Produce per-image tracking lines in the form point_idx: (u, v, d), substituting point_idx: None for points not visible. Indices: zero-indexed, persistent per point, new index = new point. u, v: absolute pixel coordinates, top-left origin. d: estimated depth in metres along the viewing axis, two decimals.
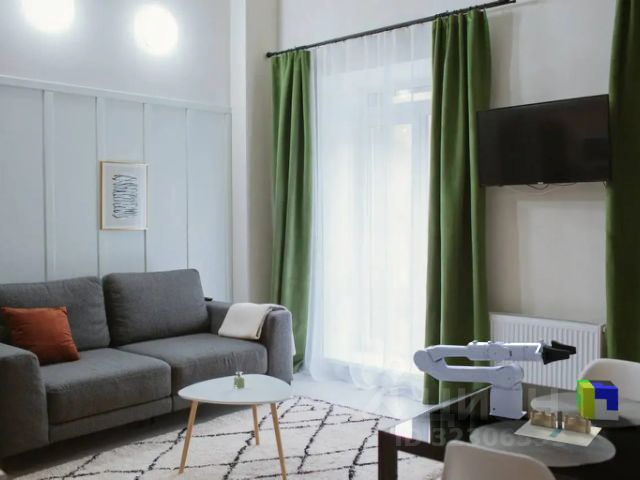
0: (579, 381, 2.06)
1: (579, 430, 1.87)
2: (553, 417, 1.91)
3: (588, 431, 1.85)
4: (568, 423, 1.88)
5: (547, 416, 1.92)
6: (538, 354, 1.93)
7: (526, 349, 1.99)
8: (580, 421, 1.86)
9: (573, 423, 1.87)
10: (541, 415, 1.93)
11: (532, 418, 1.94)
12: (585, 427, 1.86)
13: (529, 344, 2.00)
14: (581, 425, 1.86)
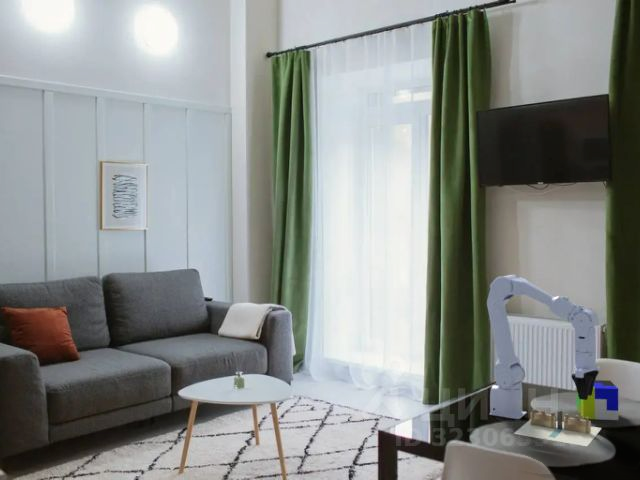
0: None
1: (579, 430, 1.87)
2: (553, 417, 1.91)
3: (588, 431, 1.85)
4: (568, 423, 1.88)
5: (547, 416, 1.92)
6: (581, 375, 1.84)
7: (587, 355, 1.87)
8: (580, 421, 1.86)
9: (573, 423, 1.87)
10: (541, 415, 1.93)
11: (532, 418, 1.94)
12: (585, 427, 1.86)
13: (593, 357, 1.88)
14: (581, 425, 1.86)
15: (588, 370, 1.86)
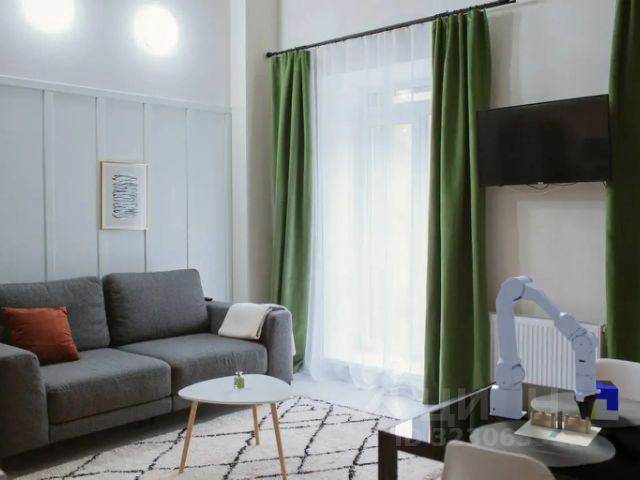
0: None
1: (579, 430, 1.87)
2: (553, 417, 1.91)
3: (588, 431, 1.85)
4: (568, 423, 1.88)
5: (547, 416, 1.92)
6: (581, 399, 1.84)
7: (587, 378, 1.88)
8: (580, 421, 1.86)
9: (573, 423, 1.87)
10: (541, 415, 1.93)
11: (532, 418, 1.94)
12: (585, 427, 1.86)
13: (593, 380, 1.88)
14: (581, 425, 1.86)
15: (588, 393, 1.86)
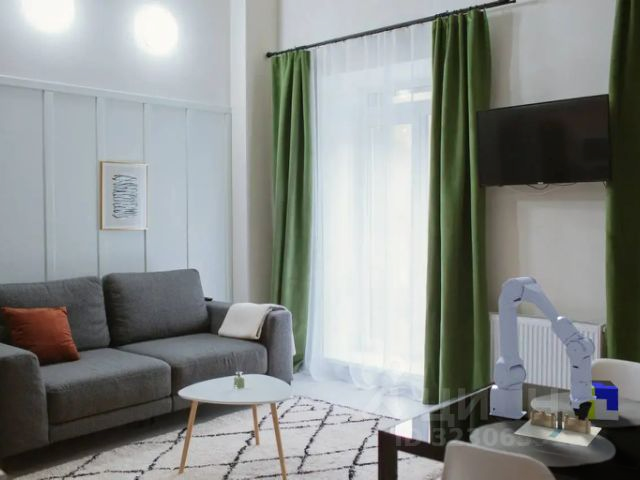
0: None
1: (579, 430, 1.86)
2: (553, 417, 1.91)
3: (588, 431, 1.85)
4: (568, 423, 1.88)
5: (547, 416, 1.92)
6: (577, 406, 1.81)
7: (583, 385, 1.84)
8: (580, 421, 1.86)
9: (573, 423, 1.87)
10: (541, 415, 1.93)
11: (532, 418, 1.94)
12: (585, 427, 1.85)
13: (589, 386, 1.85)
14: (581, 425, 1.86)
15: (584, 400, 1.83)
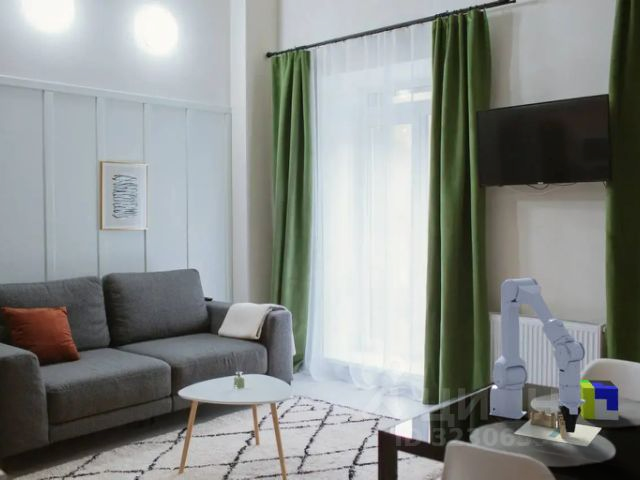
0: None
1: (560, 432, 1.85)
2: (553, 417, 1.91)
3: (561, 435, 1.82)
4: (559, 424, 1.88)
5: (547, 416, 1.92)
6: (576, 412, 1.76)
7: (575, 389, 1.80)
8: (560, 423, 1.84)
9: (559, 424, 1.86)
10: (541, 415, 1.93)
11: (532, 418, 1.94)
12: (561, 430, 1.83)
13: (579, 390, 1.81)
14: (560, 428, 1.84)
15: (578, 405, 1.79)
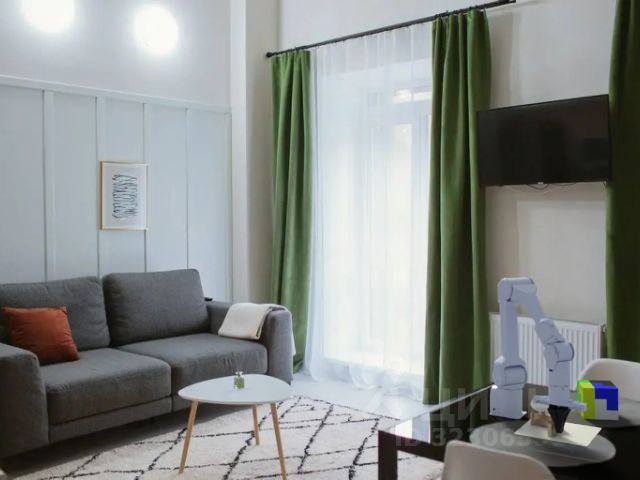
0: (579, 381, 2.06)
1: None
2: None
3: (548, 433, 1.84)
4: None
5: (547, 416, 1.92)
6: (586, 408, 1.79)
7: (569, 387, 1.82)
8: None
9: None
10: (541, 415, 1.93)
11: (532, 418, 1.94)
12: None
13: None
14: None
15: None
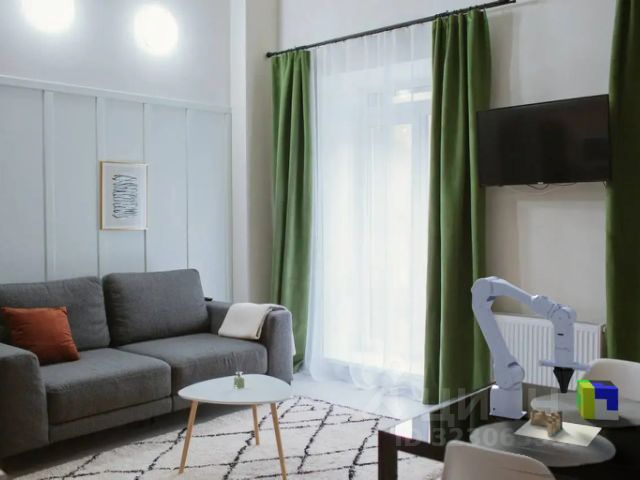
0: (579, 381, 2.06)
1: None
2: None
3: (548, 433, 1.84)
4: None
5: (547, 416, 1.92)
6: None
7: None
8: None
9: None
10: (541, 415, 1.93)
11: (532, 418, 1.94)
12: None
13: None
14: None
15: None
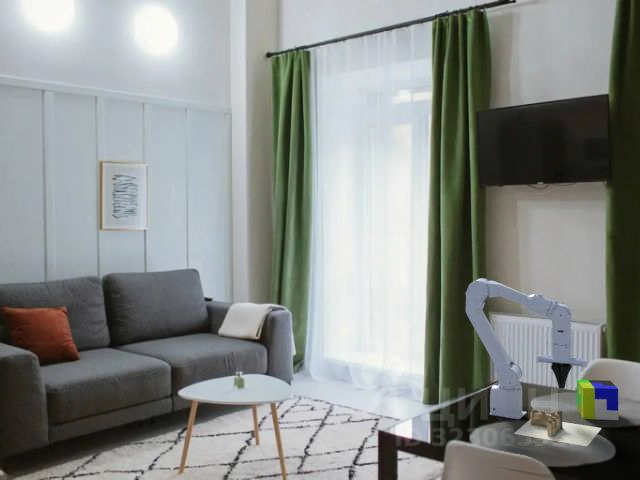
0: (579, 381, 2.06)
1: None
2: None
3: (548, 433, 1.84)
4: None
5: (547, 416, 1.92)
6: None
7: None
8: None
9: None
10: (541, 415, 1.93)
11: (532, 418, 1.94)
12: None
13: None
14: None
15: None
